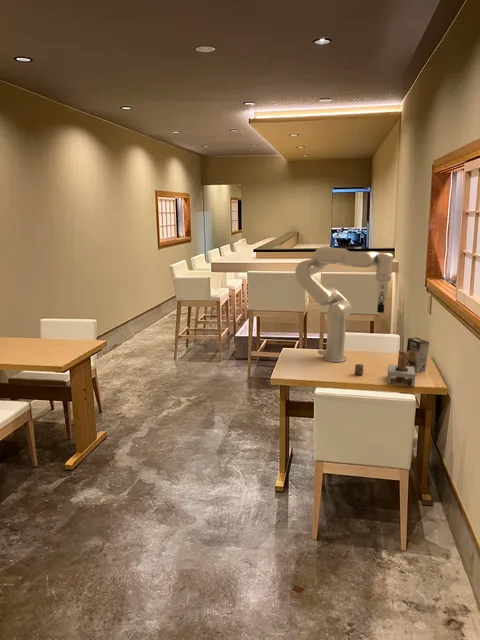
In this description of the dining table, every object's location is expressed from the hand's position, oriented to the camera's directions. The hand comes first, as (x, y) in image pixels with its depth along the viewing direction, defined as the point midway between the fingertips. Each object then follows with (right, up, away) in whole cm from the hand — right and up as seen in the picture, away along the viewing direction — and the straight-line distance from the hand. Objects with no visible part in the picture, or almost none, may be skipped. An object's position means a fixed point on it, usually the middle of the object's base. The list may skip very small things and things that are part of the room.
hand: (380, 310), depth 259 cm
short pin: (-13, -32, -6) cm, 35 cm away
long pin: (+6, -35, -14) cm, 38 cm away
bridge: (+6, -35, -14) cm, 38 cm away
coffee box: (+19, -31, +4) cm, 37 cm away
